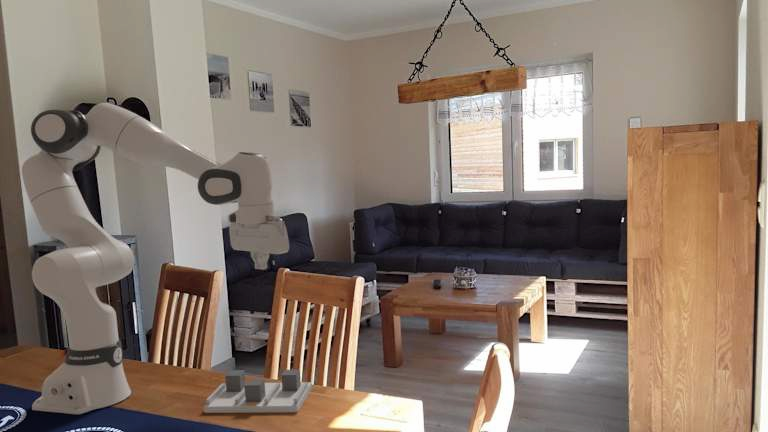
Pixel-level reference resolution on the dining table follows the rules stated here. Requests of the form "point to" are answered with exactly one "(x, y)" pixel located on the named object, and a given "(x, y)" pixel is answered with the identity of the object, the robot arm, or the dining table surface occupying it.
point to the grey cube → (291, 380)
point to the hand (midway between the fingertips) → (261, 268)
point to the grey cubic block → (255, 390)
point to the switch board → (271, 402)
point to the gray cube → (235, 381)
